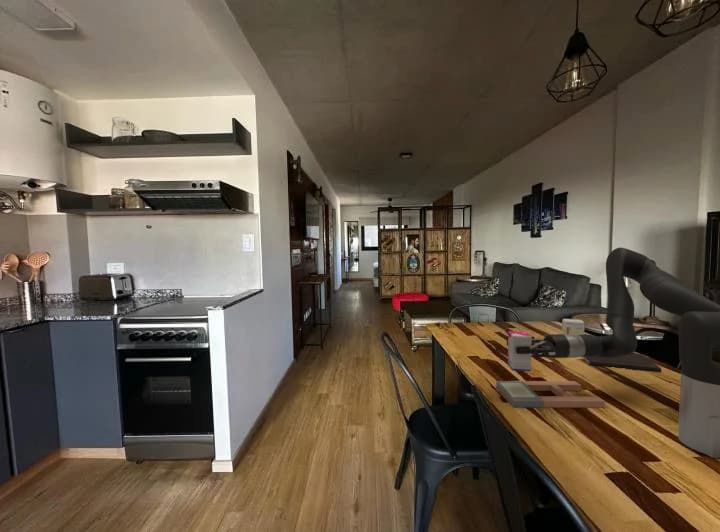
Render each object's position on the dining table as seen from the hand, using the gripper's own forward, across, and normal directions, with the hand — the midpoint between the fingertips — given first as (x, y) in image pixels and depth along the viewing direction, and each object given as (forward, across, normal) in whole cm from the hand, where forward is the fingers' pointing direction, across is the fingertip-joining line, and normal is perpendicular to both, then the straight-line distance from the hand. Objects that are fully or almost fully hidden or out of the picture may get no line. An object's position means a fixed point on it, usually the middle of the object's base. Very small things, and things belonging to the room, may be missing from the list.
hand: (511, 346), depth 102 cm
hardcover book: (-56, -30, +18) cm, 66 cm away
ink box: (-53, -54, +18) cm, 77 cm away
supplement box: (-2, 0, +7) cm, 8 cm away
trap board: (-11, 0, +17) cm, 20 cm away
